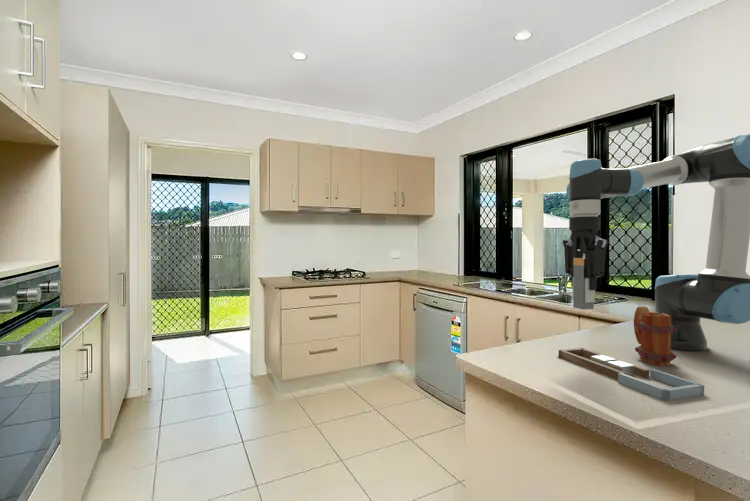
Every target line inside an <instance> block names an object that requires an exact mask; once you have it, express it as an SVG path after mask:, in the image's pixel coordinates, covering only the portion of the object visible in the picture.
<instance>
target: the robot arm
mask: <svg viewBox="0 0 750 501" xmlns="http://www.w3.org/2000/svg"><path fill="white" fill-rule="evenodd" d="M569 168H570V169H569V177H568V179H569V182H568V184H567V186H566V196H567V198H568V199H569V216H571V217H570V218H569V219H568V222H569V224H568V230H569V231H571V233H570V237H569V238H567V239H563V240H562V245H563V248H564V249H563V250H564V272H565V274H568V275H569V276H570V277H571V281H570V282H571V284H570V287H571V288H573V277H574V265H573V258H586V268H587V275H588V276H585V277H586V278H585V302H594V303H595V302H596V291H597V290H598V278H601V277H604V276H605V272H606V270H605V269H606V268H605V267H606V253H607V248H608V245H609V243H610V242H609V239H604V238H601V237H600V235H599V231H600V229H601V217H600V215H601V211H602V210H601V200H602V199H608V198H613V197H632V196H636V195H637V194H639V193H640V192H641V191H642V190H644V189H649V188H654V187H657V186H658V187H659V186H663V185H670V186H678V185H683V184H695V183H708V185H709V186H710V187H712V188H713V189H714V192H713V193H714V196H713V203H712V210H711V220H710V227H709V234H708V236H709V237H708V245H707V252H706V262H705V268H704V269H703V270H701V271H699V272H697V274H670V275H669V274H668V275H666V274H665V275H659V276H658V277H657V278H655V284H654V285H655V286H654V312H657V313H659V314H661V313H664V314H668V315H670V316H671V325H673V327H674V328H676V331H675V332H673V333H671V349H674V350H680V351H681V350H682V351H693V352H694V351H695V352H696V351H705V350H707V349H708V341H707V340H708V339H707V338H706V336H705V332H704V330H703V327H702V325H701V319H706V320H710V321H715V322H719V323H724V324H733V325H741V324H745V323H748V322H750V275H749V274H748V273H747V271H746V270H747V262H748V257H749V256H748V255H749V248H750V133H748V134H742V135H737V136H736V137H731V138H727V139H723V140H720V141H717V142H712V143H709V144H708V143H707V144H704V145H700V146H698V147H695V148H692V149H690V150H688V151H684V152H682V153H678V154H673V155H670V156H667V157H666V158H664V159H663V160H661V161H656V162H651V163H646V164H641V165H640V164H639V165H635V166H631V167H627V168H609V167H607V168H604V167H602V161H601V160H600V159H597V158H584V159H579V160H575V161H573V162H572V163H571V165H570V167H569Z"/></svg>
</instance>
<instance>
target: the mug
mask: <svg viewBox="0 0 750 501" xmlns="http://www.w3.org/2000/svg"><path fill="white" fill-rule="evenodd" d="M633 316H634V317H633V329H634V334H635V338H636V341H637V343H638V345H639V346H636V347H635V348H634V351H635V352H636V353H637V354H638V356H639V358H640V361H641V362H644V363H648V364H650V365H654V366H661V367H663V366H666V367H669V366H670V365H671V362H672V361H674V360H675V359H676V358H677V355H676V354H675V353H674V352H673V351H672V350H671V349H672V348H671V333H673V332H675V331H676V328H674V327H673V325H671V316H670V315H668V314H664V313H661V314H659V313H657V312H655V311H650V309H649V308H648V307H647V306H637V307H636V309H635V311H634V315H633Z"/></svg>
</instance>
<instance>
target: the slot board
mask: <svg viewBox="0 0 750 501" xmlns="http://www.w3.org/2000/svg"><path fill="white" fill-rule="evenodd" d="M597 355H605V354H602V353H600V352H595V351H593V350H590V349H587V348H584V347H577V348H565V349H559V350H558V355H557V356H556V358H559V359H561V360H564V361H566V362H569V363H571V364H574V365H576V366H579V367H581V368H584V369H586V370H589V371H591V372H595V373H596V374H599V375H602V376H604V377H607V378H609V379H611V380H612V379H613V380H615V381H617V382H618V373H623V374H626V373H625V372H622V371H620V370H617V369H614V368H611V367H608V366H606V365H603V364H600V363H597V362H595V361H592V360H591V356H597ZM605 356H608V355H605ZM608 357H611V358H614V357H612V356H608ZM614 359H616V361H619V360H620V361H623V362H626V361H624V360H621V359H617V358H614ZM626 363H629V364H632V363H630V362H626ZM632 365H635V368H634V376H632V377H634V378H637V379H640V380H642V379H648V378H650V369H648V368H645V367H641V366H638V365H636V364H632ZM650 379H651V378H650Z"/></svg>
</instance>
